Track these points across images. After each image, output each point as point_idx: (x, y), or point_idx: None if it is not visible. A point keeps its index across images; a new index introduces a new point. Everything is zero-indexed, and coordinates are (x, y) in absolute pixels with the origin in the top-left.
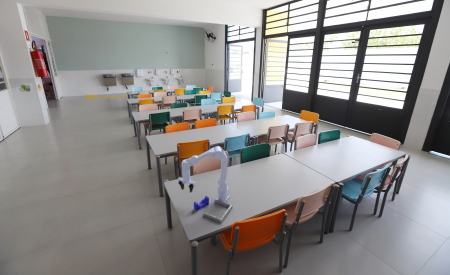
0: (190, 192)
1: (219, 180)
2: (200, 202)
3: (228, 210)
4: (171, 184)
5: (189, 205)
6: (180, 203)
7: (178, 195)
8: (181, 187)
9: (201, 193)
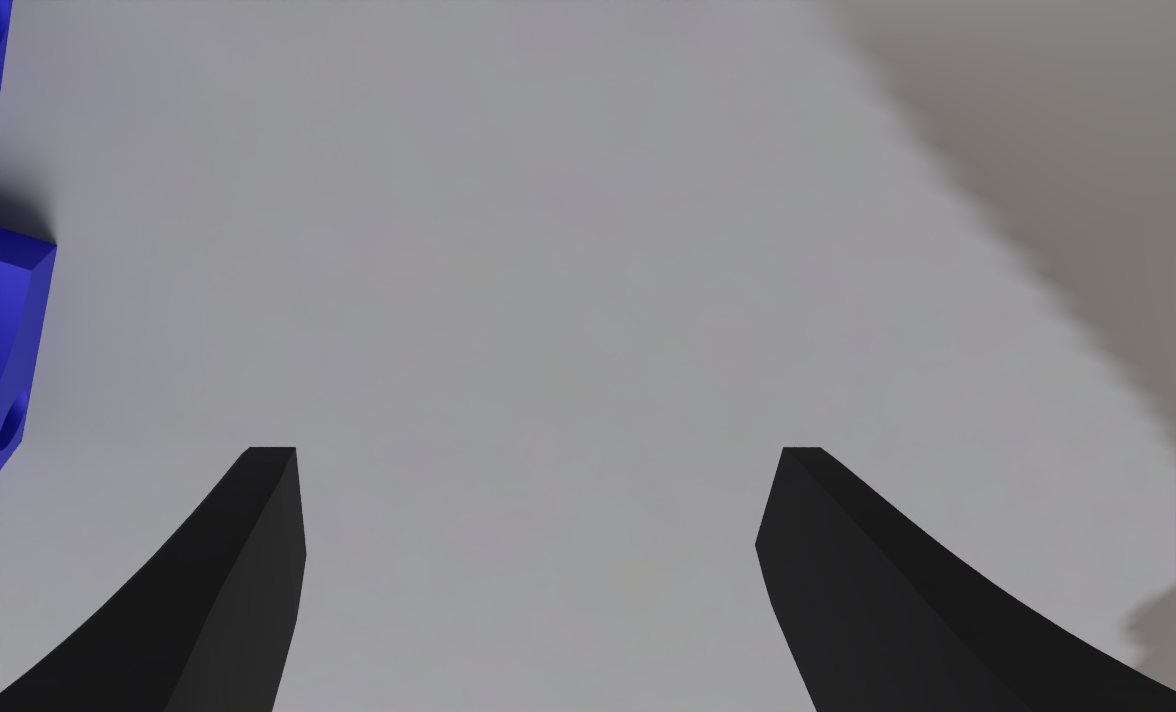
0: (258, 453)
1: None
2: (5, 306)
3: None
4: (1171, 569)
5: (308, 62)
6: (656, 32)
7: (877, 333)
8: (893, 538)
9: (350, 615)
